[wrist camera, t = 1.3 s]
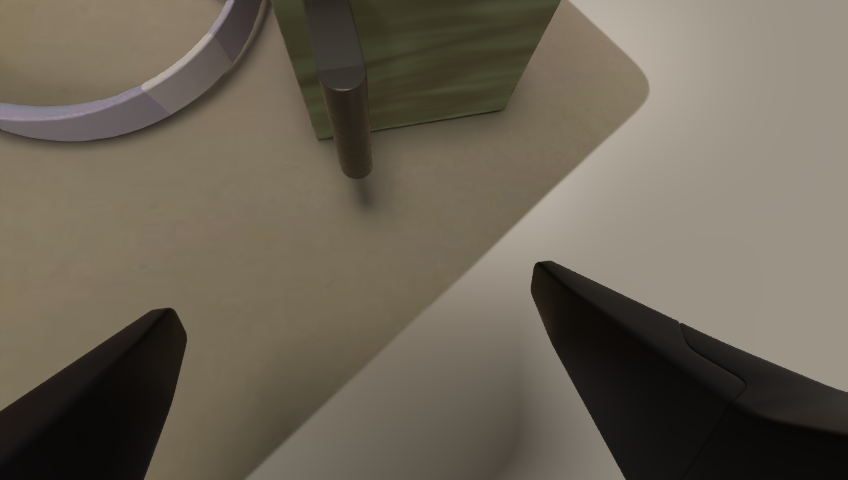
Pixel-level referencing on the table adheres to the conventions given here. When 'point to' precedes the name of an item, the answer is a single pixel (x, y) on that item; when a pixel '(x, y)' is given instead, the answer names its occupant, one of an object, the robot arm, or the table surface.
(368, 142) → the door
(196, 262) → the table surface
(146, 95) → the headphones
